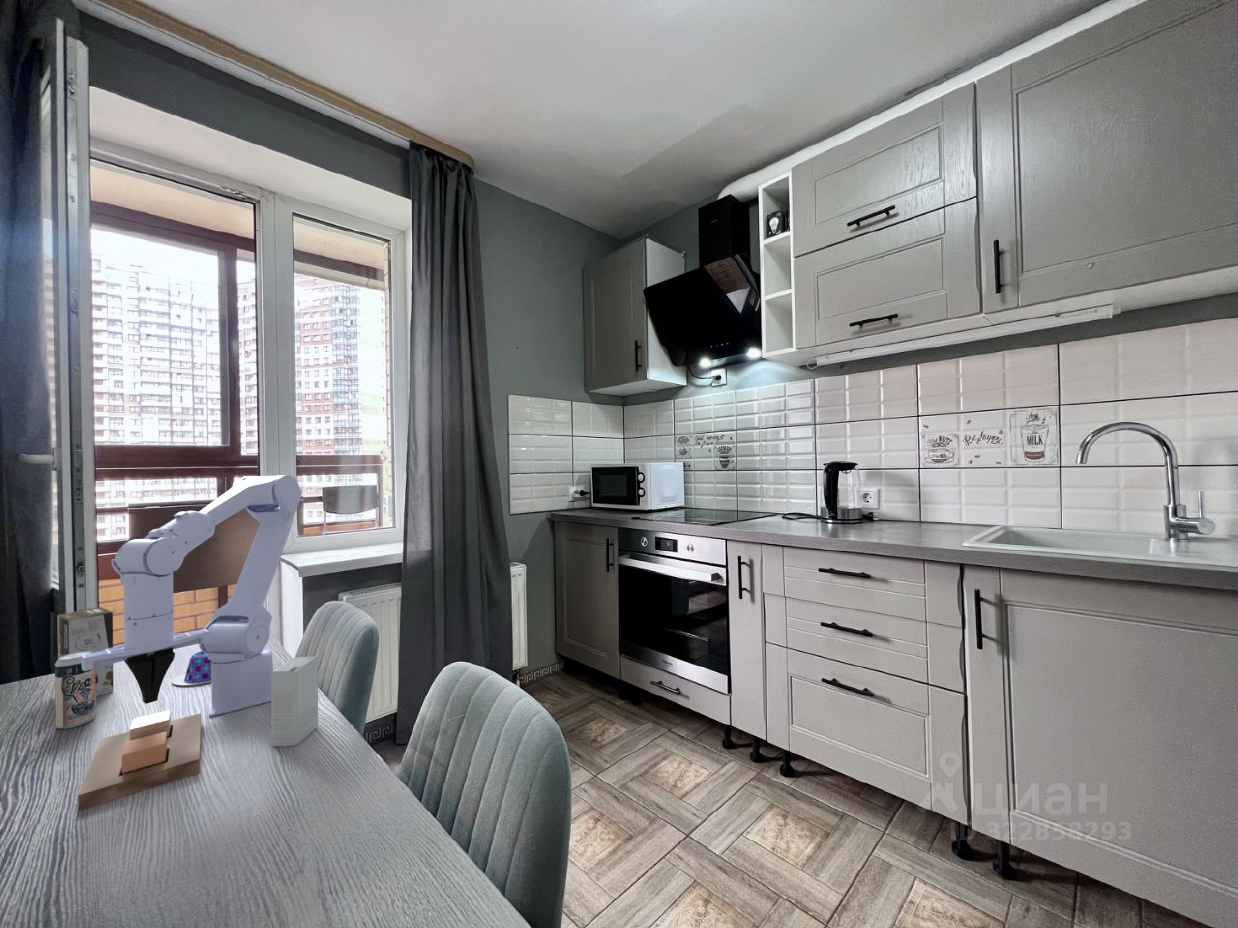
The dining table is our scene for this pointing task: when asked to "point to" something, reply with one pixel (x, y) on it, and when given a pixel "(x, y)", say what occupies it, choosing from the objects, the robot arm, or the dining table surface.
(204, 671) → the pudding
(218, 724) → the dining table surface
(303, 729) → the skincare box
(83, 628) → the coffee box
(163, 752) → the terracotta button
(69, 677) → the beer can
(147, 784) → the button board
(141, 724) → the metal button
